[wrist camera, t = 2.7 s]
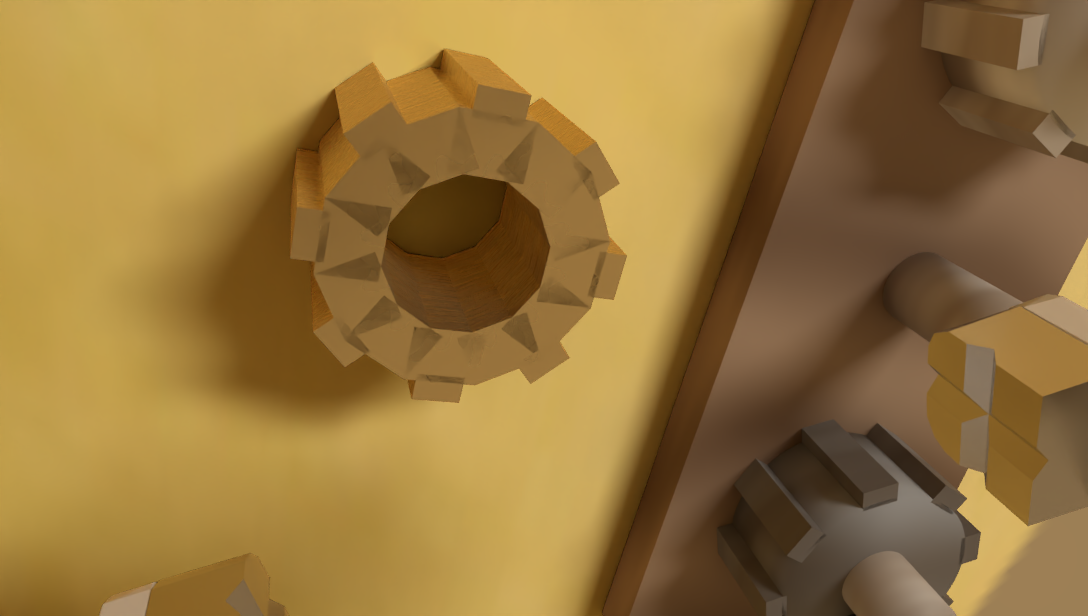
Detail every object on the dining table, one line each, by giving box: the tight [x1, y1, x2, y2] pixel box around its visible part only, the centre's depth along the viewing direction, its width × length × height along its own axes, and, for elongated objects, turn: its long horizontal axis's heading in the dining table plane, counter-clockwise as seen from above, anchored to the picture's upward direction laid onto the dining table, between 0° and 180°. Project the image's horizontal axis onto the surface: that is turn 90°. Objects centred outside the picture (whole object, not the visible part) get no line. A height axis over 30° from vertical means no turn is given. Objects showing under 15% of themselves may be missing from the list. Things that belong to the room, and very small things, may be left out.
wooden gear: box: [290, 49, 627, 403], centre depth 18 cm, size 6×6×4 cm
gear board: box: [602, 0, 1088, 616], centre depth 21 cm, size 26×10×8 cm, turn 166°
